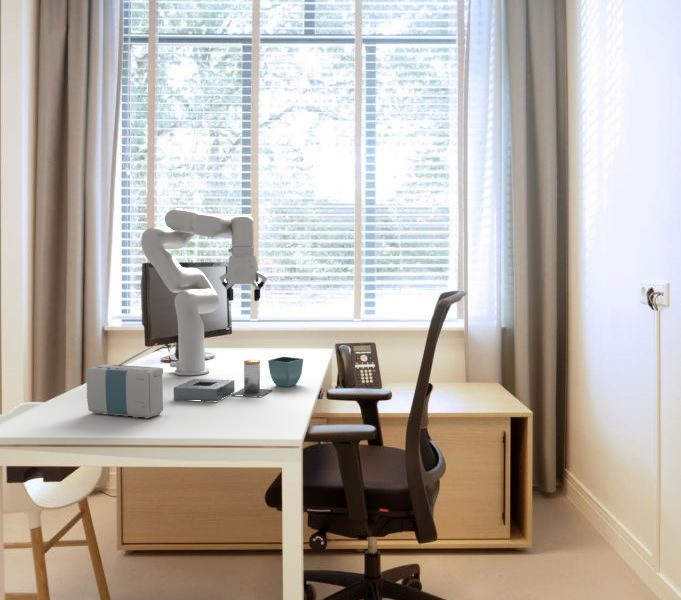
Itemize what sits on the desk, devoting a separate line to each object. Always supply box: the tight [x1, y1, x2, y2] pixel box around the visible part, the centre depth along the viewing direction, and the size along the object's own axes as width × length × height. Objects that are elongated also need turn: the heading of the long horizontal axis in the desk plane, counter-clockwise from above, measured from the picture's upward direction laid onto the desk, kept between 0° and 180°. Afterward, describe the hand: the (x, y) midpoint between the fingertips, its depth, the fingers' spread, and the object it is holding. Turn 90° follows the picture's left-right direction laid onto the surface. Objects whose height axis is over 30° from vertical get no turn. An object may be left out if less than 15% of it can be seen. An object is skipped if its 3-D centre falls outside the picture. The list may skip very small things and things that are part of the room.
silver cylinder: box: [243, 359, 261, 394], centre depth 199 cm, size 5×5×10 cm
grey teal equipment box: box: [86, 343, 164, 419], centre depth 173 cm, size 21×8×20 cm, turn 69°
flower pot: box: [267, 356, 304, 388], centre depth 211 cm, size 9×9×9 cm
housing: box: [173, 378, 235, 402], centre depth 195 cm, size 14×14×4 cm
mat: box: [231, 387, 273, 397], centre depth 199 cm, size 10×10×1 cm
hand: (243, 300), depth 219 cm, fingers open, 9 cm apart
